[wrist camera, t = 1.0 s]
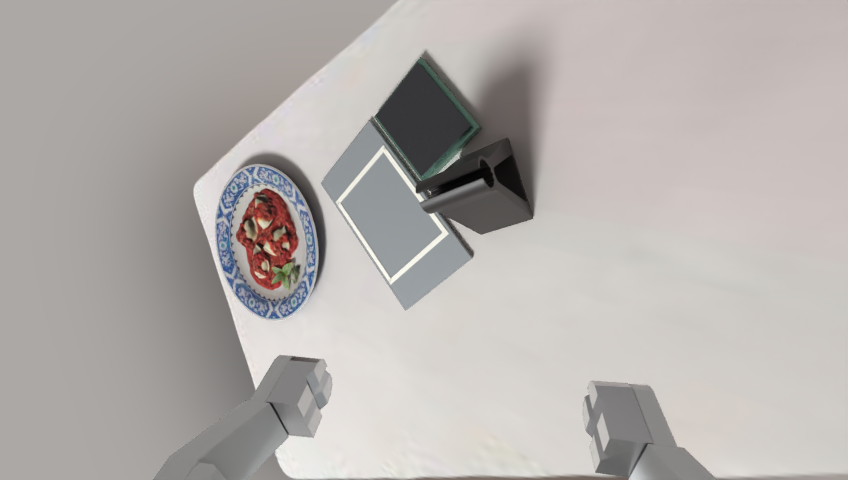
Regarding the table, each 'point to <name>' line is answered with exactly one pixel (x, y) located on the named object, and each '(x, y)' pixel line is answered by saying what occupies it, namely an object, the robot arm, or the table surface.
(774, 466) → the table surface
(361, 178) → the marked board
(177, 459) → the robot arm
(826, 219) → the table surface
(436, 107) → the ink pad
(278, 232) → the ceramic plate
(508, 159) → the phone stand
